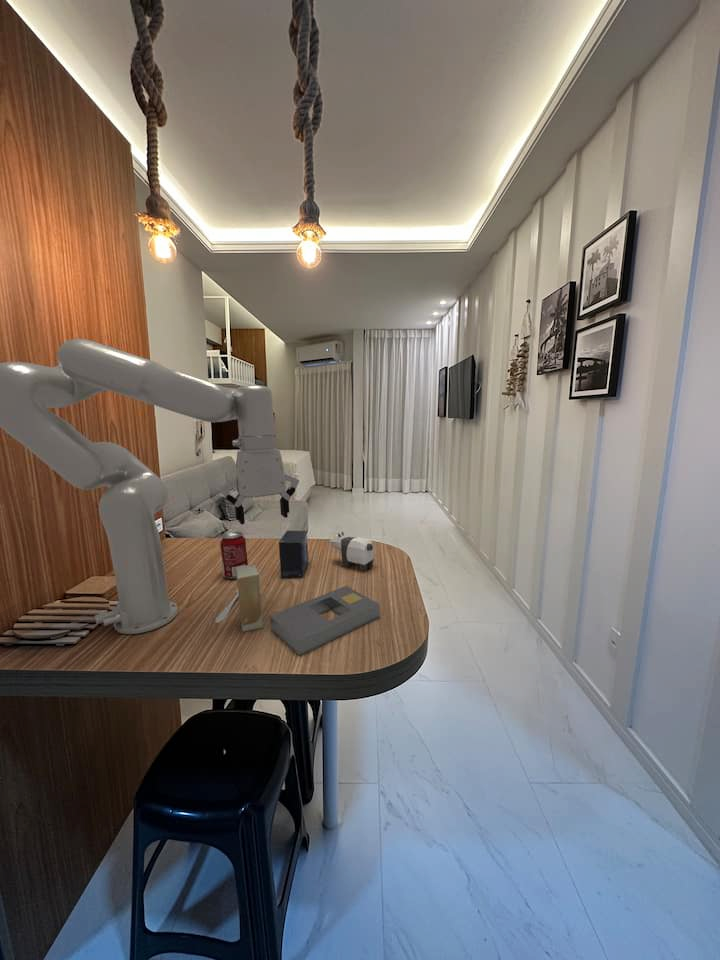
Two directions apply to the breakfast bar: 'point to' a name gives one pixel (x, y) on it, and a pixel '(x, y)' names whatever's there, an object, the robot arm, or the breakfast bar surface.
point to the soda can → (233, 553)
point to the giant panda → (354, 551)
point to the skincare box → (249, 597)
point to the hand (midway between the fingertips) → (263, 519)
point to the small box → (293, 554)
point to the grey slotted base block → (323, 619)
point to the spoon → (226, 609)
